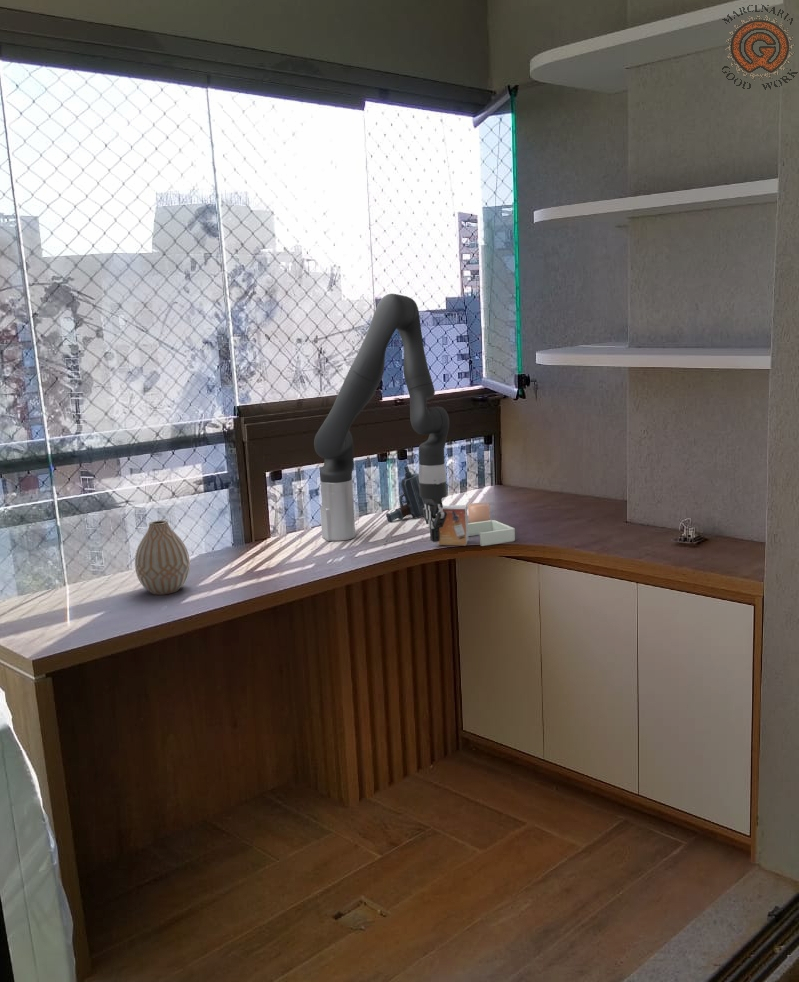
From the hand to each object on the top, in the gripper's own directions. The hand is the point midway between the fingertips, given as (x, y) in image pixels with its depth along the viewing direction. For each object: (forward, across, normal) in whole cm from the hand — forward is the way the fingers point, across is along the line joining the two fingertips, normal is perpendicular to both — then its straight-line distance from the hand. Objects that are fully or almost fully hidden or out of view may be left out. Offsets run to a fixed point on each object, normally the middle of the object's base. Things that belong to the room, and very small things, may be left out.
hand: (435, 541), depth 265 cm
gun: (+2, -37, +7) cm, 38 cm away
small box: (+2, 0, +6) cm, 6 cm away
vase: (+2, +5, -75) cm, 75 cm away
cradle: (+2, 0, +16) cm, 16 cm away
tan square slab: (+2, -13, +20) cm, 24 cm away
